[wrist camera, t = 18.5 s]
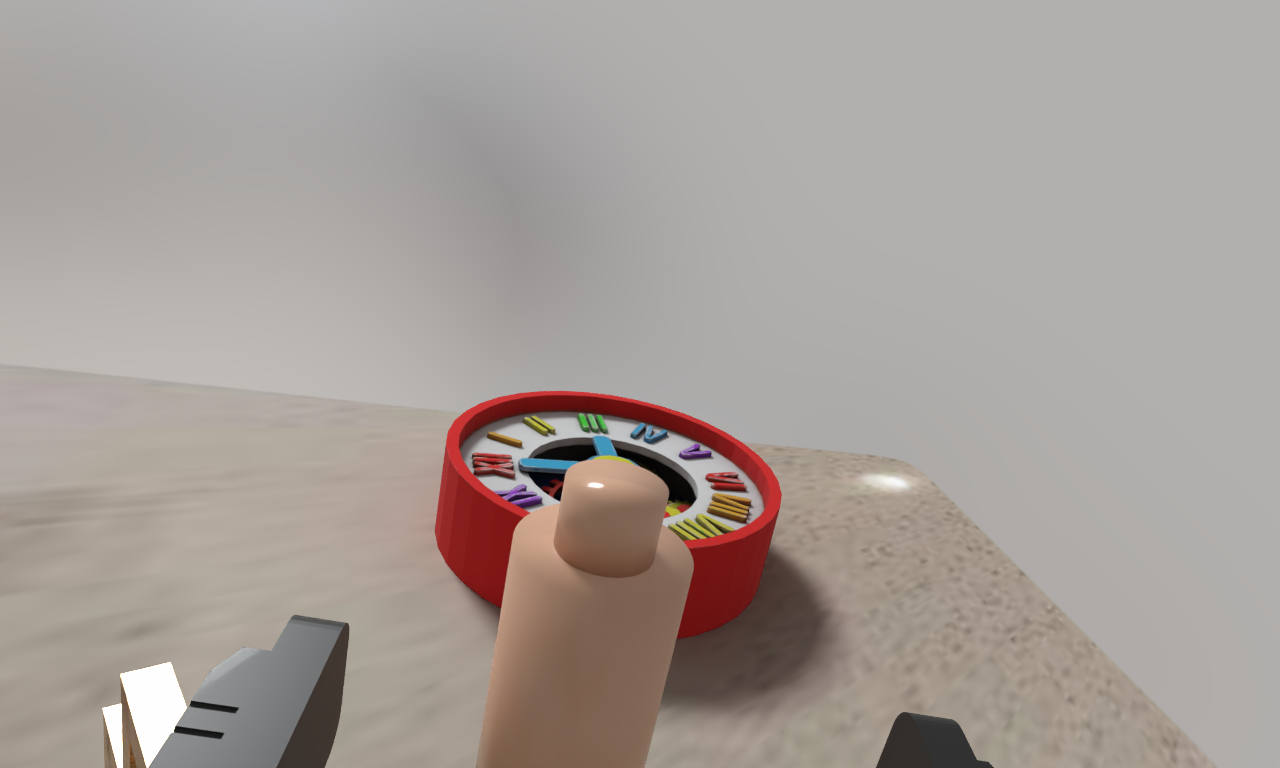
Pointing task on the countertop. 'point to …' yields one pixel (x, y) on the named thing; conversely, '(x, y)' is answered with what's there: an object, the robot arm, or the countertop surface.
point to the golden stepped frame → (142, 717)
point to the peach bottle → (586, 625)
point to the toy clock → (614, 430)
